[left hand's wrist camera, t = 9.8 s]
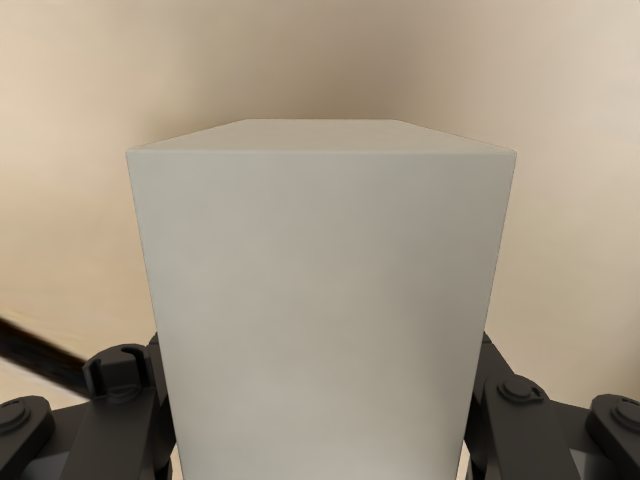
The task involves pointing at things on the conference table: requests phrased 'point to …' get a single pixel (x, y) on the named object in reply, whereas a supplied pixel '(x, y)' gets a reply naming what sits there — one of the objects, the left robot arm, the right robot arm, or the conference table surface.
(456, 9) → the conference table surface
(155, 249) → the post
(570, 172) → the conference table surface
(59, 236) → the conference table surface
